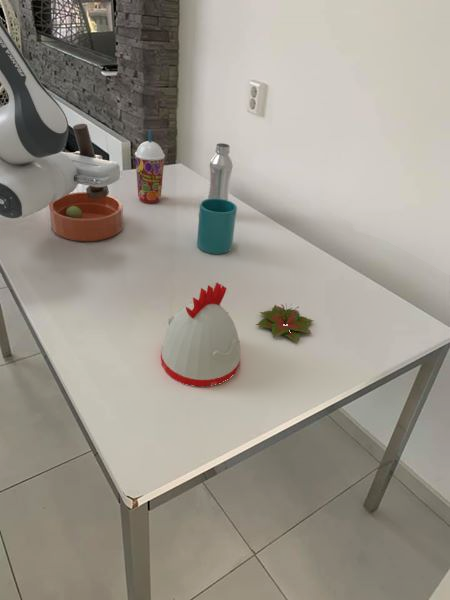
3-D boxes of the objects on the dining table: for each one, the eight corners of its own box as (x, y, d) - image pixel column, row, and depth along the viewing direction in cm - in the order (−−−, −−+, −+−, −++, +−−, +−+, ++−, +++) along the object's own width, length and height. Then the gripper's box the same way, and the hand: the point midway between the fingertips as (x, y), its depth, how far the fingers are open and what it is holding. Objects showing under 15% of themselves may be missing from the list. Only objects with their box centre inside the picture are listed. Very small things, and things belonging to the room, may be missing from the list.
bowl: (43, 240, 109) (40, 217, 106) (61, 210, 124) (59, 189, 120) (117, 245, 111) (116, 222, 107) (126, 215, 125) (126, 194, 122)
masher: (84, 198, 105) (64, 130, 95) (92, 188, 109) (73, 121, 98) (104, 199, 105) (86, 130, 94) (111, 188, 108) (95, 121, 98)
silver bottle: (225, 210, 135) (232, 142, 124) (229, 219, 130) (237, 149, 119) (204, 209, 134) (209, 141, 123) (207, 219, 129) (213, 148, 117)
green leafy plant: (271, 301, 97) (274, 283, 95) (323, 322, 93) (328, 304, 90) (244, 328, 88) (247, 309, 86) (300, 353, 84) (305, 333, 81)
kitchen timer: (255, 362, 80) (268, 293, 72) (198, 400, 72) (205, 325, 63) (202, 324, 88) (208, 257, 79) (144, 354, 79) (144, 282, 71)
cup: (212, 231, 122) (216, 191, 116) (239, 250, 115) (244, 209, 108) (184, 237, 118) (186, 196, 111) (209, 258, 110) (213, 215, 104)
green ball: (62, 220, 117) (63, 211, 114) (70, 209, 119) (70, 200, 116) (77, 227, 118) (78, 218, 114) (84, 216, 120) (85, 207, 116)
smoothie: (139, 206, 131) (139, 136, 120) (132, 195, 137) (131, 127, 126) (167, 204, 134) (169, 135, 123) (158, 194, 140) (160, 127, 129)
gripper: (100, 168, 87) (132, 150, 98) (8, 150, 90) (48, 135, 102) (102, 199, 90) (132, 179, 101) (13, 180, 94) (52, 162, 105)
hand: (90, 156), depth 102 cm, fingers closed on masher, 3 cm apart
